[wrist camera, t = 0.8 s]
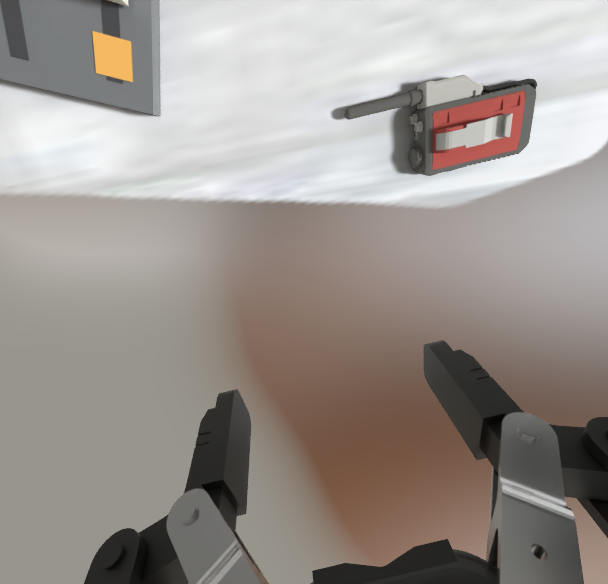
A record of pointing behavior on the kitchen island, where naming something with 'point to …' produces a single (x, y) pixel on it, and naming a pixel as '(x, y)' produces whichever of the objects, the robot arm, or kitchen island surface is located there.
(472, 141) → the walkie-talkie
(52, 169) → the kitchen island surface
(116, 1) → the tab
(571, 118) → the kitchen island surface
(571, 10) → the kitchen island surface
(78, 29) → the switch panel
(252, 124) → the kitchen island surface
